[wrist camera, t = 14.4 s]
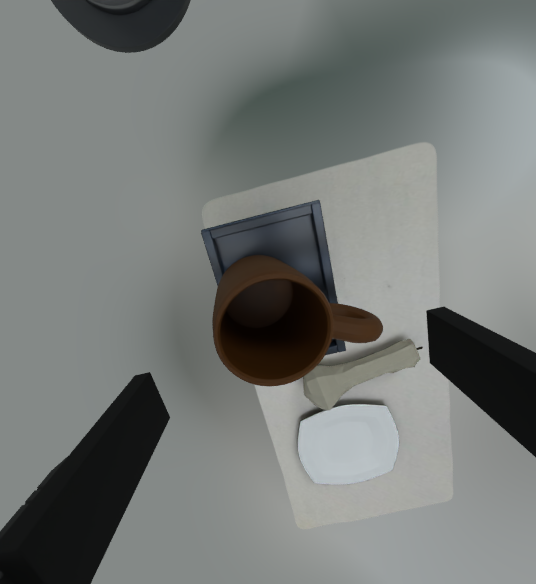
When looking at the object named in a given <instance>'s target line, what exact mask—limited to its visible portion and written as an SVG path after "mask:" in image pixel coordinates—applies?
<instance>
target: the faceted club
mask: <svg viewBox="0 0 536 584" xmlns="http://www.w3.org/2000/svg"><path fill="white" fill-rule="evenodd" d="M422 348H423V347H419V348H416V347H415V345H414V343H413V342H412V341H411V340H410V339H407V340H404V341H399V342H398V343H396V344H394V345H392V346H390V347H388V348H386V349H384V350H382V351H379V352H377V353H374V354H372V355H369V356H367V357H364V358H361V359H359V360H356V361H352V362H348V363H344V364H340V365H336V366H324V365H317V366H316V367H315V368H314V369H313V370H312V371H311V372H309V373H308V374H306V375H305V376H303V382H304V395H305V396H306V397H307V398H308V399H309V400H310V401H311V402H312V403H313V404H314V405H316V406H317V407H319V408H321V409H324V410H329V411H330V410H331V409H332V407H333V406H334V405H335V404H336V402H337V401H338V400H339V399H340V397H341V396H342V395H343V394H344V393H346V392H347V391H348V390H349V389H351V388H352V387H353V386H355V385H357V384H360V383H363V382H365V381H368V380H370V379H373V378H375V377H378V376H380V375H383V374H385V373H388V372H389V373H394V372H397V371H399V370H402V369H404V368H410V367H415V365H416V364H417V362H418V361H419V360H420V356H419V354H418V351H417V350H419V349H422Z"/></svg>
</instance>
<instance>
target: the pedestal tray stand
mask: <svg viewBox="0 0 536 584" xmlns="http://www.w3.org/2000/svg"><path fill="white" fill-rule="evenodd" d="M201 234H202V237H203V240H204V244H205V247H206V250H207V253H208V256H209V260H210V263H211V266H212V269H213V272H214V276H215V279H216V282H217V285H219V282H220V280H221V278H222V276H223V274H224V273H225V271H226V270H227V269H228V268H229V267H230V266H231V265H232V264H233V263H235V262H236V261H238V260H240V259H242V258H245V257H248V256H252V255H265V256H270V257H273V258H275V259H278V260H280V261H282V262H283V263H285V264H287V265H289V266H291V267H292V268H294V269H296V270H297V271H299V272H300V273H302V274H304V275H305V276H306V277H307V278H309V279H310V280H311V281H312V282H313V283H314V284H315V285H316V286H317V287H318V288H319V289H320V290H321V291H322V292H323V294H324V295H325V297H326V298H327V300H328V302H329V303H335V304H338V302H337V296H336V291H335V285H334V279H333V273H332V268H331V262H330V256H329V251H328V245H327V239H326V233H325V228H324V222H323V216H322V210H321V205H320V200H316V201H312V202H308V203H304V204H301V205H297V206H293V207H289V208H285V209H281V210H277V211H273V212H269V213H266V214H262V215H258V216H254V217H250V218H246V219H242V220H238V221H234V222H231V223H227V224H223V225H219V226H215V227H211V228H207V229H203V230H202V231H201ZM342 351H346V348H345V342H344V341H341V340H336V339H332V340H331V343H330V346H329V348H328V350H327V352H326V354H325V355H328V354H333V353H337V352H342Z"/></svg>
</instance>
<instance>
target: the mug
mask: <svg viewBox="0 0 536 584" xmlns="http://www.w3.org/2000/svg"><path fill="white" fill-rule="evenodd" d="M382 331H383V326H382V323H381V321H380V319H379V318H377V317H376V316H375V315H373V314H372V313H370V312H368V311H365V310H362V309H359V308H356V307H352V306H348V305H343V304H335V303H329V302H328V300H327V298H326V297H325V295H324V294H323V292H322V291H321V290H320V289H319V288H318V287H317V286H316V285H315V284H314V283H313V282H312V281H311V280H310V279H309V278H307V277H306V276H305V275H304V274H302V273H300V272H299V271H297V270H296V269H294V268H292V267H291V266H289V265H287V264H285V263H283V262H282V261H280V260H278V259H275V258H273V257H270V256H265V255H252V256H248V257H245V258H242V259H240V260H238V261H236V262H235V263H233V264H232V265H231V266H230V267H229V268H228V269H227V270H226V271H225V273H224V274H223V276H222V278H221V280H220V282H219V285H218V289H217V294H216V299H215V305H214V312H213V337H214V344H215V348H216V351H217V353H218V355H219V357H220V359H221V361H222V362H223V364H224V365H225V366H226V367H227V368H228V370H229V371H231V372H232V373H233V374H234V375H236V376H237V377H239V378H240V379H242V380H244V381H246V382H249V383H252V384H255V385H260V386H279V385H284V384H288V383H291V382H293V381H296V380H298V379H300V378H302V377H303V376H305V375H306V374H308V373H309V372H311V371H312V370H313V369H314V368H315V367H316V366H317V365H318V364H319V363H320V362H321V360H322V359H323V357H324V356H325V354H326V352H327V350H328V348H329V346H330V343H331V340H332V339H336V340H341V341H347V342H352V343H367V342H372V341H376V340H377V339H378V338H379V337H380V335H381V333H382Z"/></svg>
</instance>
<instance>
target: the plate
mask: <svg viewBox="0 0 536 584" xmlns="http://www.w3.org/2000/svg"><path fill="white" fill-rule="evenodd" d="M398 447H399V435H398V430H397V427H396V425H395V422H394V420H393V418H392V416H391V414H390V412H389V410H388V408H387V406H385V405H373V404H348V405H341V406H336V407H332V409H331V410H330V411H329V410H324V411H321V412H319V413H317V414H314V415H312V416H310V417H308V418H306V419H304V420H301V422H300V428H299V435H298V454H299V457H300V460H301V463H302V465H303V467H304V468H305V470H306V472H307V473H308V475H309V476H310V478H311V479H312V480H313V482H314V483H319V484H353V483H358V482H363V481H366V480H369V479H372V478H375V477H377V476H380V475H382V474H385V473H387V472H390V471H392V470H393V467H394V464H395V461H396V457H397V453H398Z"/></svg>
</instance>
